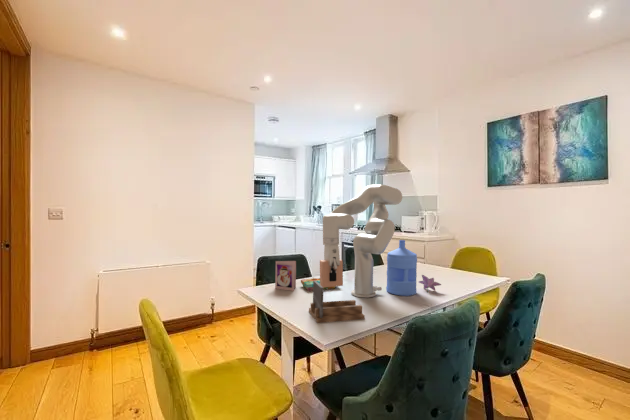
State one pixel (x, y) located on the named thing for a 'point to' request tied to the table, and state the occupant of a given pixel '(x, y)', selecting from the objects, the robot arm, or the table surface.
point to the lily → (429, 283)
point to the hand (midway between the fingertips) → (331, 279)
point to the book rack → (333, 308)
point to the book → (325, 274)
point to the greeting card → (285, 275)
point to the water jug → (401, 271)
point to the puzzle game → (309, 284)
